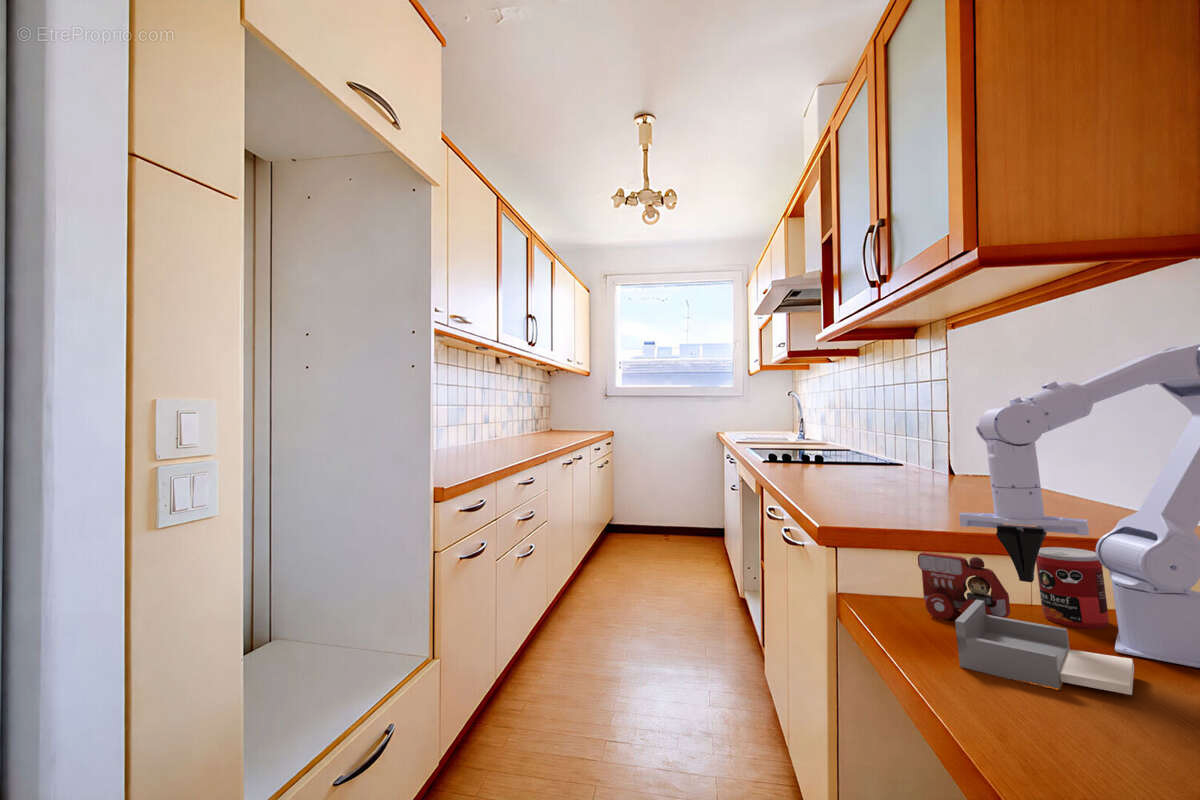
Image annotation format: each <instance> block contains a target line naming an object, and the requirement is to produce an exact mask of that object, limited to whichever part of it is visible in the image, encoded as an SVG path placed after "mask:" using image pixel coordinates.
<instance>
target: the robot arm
mask: <svg viewBox="0 0 1200 800" xmlns="http://www.w3.org/2000/svg"><path fill="white" fill-rule="evenodd" d="M1145 385H1149V386H1152V385H1158V386H1159V387H1161V388H1162V389H1163V390H1165V391H1166V392H1167V393H1168V394H1170V395H1171V396H1172V397H1173V398H1175V400H1176V401H1178V402H1180V404H1182V405H1183V406H1184V407H1186V408H1187V409H1188V410H1189V411H1190V413H1191V415H1192V417H1191V419H1190V421H1188V423H1187V426H1186V427H1185V429H1184V430H1183V432H1182V434H1181V436H1180V437H1179V439H1178V440H1177V441H1178V442H1177V443H1176V444H1175V447H1174V448H1173V450H1172V451H1171V453H1170V454H1169V456H1168V459H1167V460H1166V462H1165V464H1164V465H1163V467H1162V469H1161V470H1160V472H1159V474H1158V476H1157V478H1156V479H1155V481H1154V483H1153V485H1152V487H1151V488H1150V490H1149V492H1148V493H1147V495H1146V497H1145V499H1144V500H1143V502H1142V504H1141V506H1140V508H1139V509H1138V510H1137V511H1136V512H1135V513H1132V514H1130V515H1128V516H1125V517H1124V518H1121V519H1120V520H1119V521H1117V523H1116V525H1115V526H1114V528H1113V529H1112V530H1111V531H1109V532H1108V533H1106V534H1104V535H1102V536H1101V537H1100V538H1099V539H1098V540H1097V543H1096V546H1095V552H1096V555H1097V558H1098V560H1099V562H1100V563H1101V564H1102V567H1104V568H1105V569H1107V570H1108V571H1109V577H1110V580H1111V585H1112V591H1113V592H1112V593H1113V600H1114V606H1115V607H1114V608H1115V614H1116V620H1117V628H1118V630H1117V631H1118V632H1117V634H1116V638H1115V644H1114V651H1115V652H1117V653H1119V654H1124V655H1131V656H1135V657H1140V658H1146V659H1151V660H1156V661H1162V662H1166V663H1172V664H1176V665H1177V664H1178V665H1183V666H1187V667H1193V668H1199V669H1200V591H1195V590H1192V589H1191V588H1193V587H1194V586H1195V585H1196V584H1197V583H1198V582H1199V580H1200V537H1199V535H1198V534H1197V533H1196V531H1195V529H1196V528H1197V526H1198V525H1199V523H1200V342H1198V343H1192V344H1189V345H1183V346H1179V347H1178V346H1173V347H1168V348H1164V349H1162V350H1160V351H1158V352H1154V353H1149V354H1146V355H1142V356H1140V357H1139V356H1138V357H1136V358H1134V359H1132V360H1129V361H1128V362H1125V363H1123V364H1121V365H1118V366H1117V367H1114V368H1112V369H1110V370H1107V371H1105V372H1103V373H1101V374H1099V375H1097V376H1095V377H1092V378H1090V379H1087V380H1086V381H1083V382H1081V383H1078V384H1077V383H1073V382H1069V381H1060V382H1057V381H1055V380H1054V381H1050V382H1047V383H1044V384H1043V385H1041V388H1042V389H1041V390H1038V391H1036V392H1034V393H1032V394H1029V395H1027V396H1025V397H1022V398H1021V397H1020V396H1017V397H1013V398H1011V399H1009V403H1010V404H1009V405H1008V406H1000V407H993V408H990V409H988V410H987V411H985V412H984V413H983V414H982V416H980V418H979V421H978V425H976V427H975V430H976V433H977V434H978V436H979V438H981V439H982V441H984V442H985V444H986V450H987V452H986V453H987V460H988V461H987V462H988V469H989V477H990V478H989V481H990V486H991V493H992V494H991V495H992V502H993V512H994V513H991V512H988V513H987V512H983V513H982V512H960V513H959V514H958V517H959V518H958V519H959V526H960V527H967V528H969V527H975V528H976V527H977V528H988V529H989V528H991V529H996V533H995V535H996V537H997V539H998V541H999V542H1000V544H1002V546H1003V548H1004V549H1005V550H1006V552H1007V554H1008V556H1009V557H1010V559H1011V561H1012V563H1013V566H1014V569H1015V571H1016V573H1017V576H1018V580H1019V581H1020V582H1026V583H1033V582H1034V580H1035V569H1036V568H1035V567H1036V559H1037V556H1038V553H1039V550H1040V548H1042V544H1043V542H1044V540H1045V538H1046V536H1047V533H1061V534H1062V533H1063V534H1073V535H1074V534H1075V535H1078V536H1089V535H1090V529H1089V521H1088V519H1085V518H1073V517H1072V518H1071V517H1061V516H1053V515H1052V516H1049V515H1045V510H1044V509H1045V508H1044V503H1043V502H1044V501H1043V496H1042V495H1043V493H1042V487H1041V480H1040V479H1041V478H1040V473H1039V472H1040V471H1039V469H1040V468H1039V461H1038V455H1037V447H1036V442H1037V441H1038V440H1039V439H1040V438H1041V437H1042V435H1043V434H1045V433H1047V432H1051V431H1052V430H1053V431H1054V430H1055V429H1058V428H1061V427H1063V426H1065V425H1068V424H1071V423H1073V422H1075V421H1077V420H1080V419H1082V418H1085V417H1087V416H1089V415H1090V414H1091V412H1092V409H1093V406H1094V404H1095V403H1098V402H1101V401H1104V400H1107V399H1109V398H1112V397H1115V396H1118V395H1120V394H1123V393H1126V392H1128V391H1129V392H1130V391H1132V390H1134V389H1138V388H1139V387H1140V388H1141V387H1143V386H1145Z"/></svg>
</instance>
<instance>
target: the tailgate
mask: <svg viewBox="0 0 1200 800" xmlns="http://www.w3.org/2000/svg"><path fill="white" fill-rule="evenodd" d="M1134 674H1135V665H1134V659H1133V658H1129V657H1124V656H1123V657H1122V656H1121V657H1120V656H1117V655H1108V654H1103V653H1102V654H1101V653H1096V652H1089V651H1084V650H1076V649H1075V650H1074V649H1068V651H1067V654H1066V657H1065V659H1064V662H1063V665H1062V667H1061V670H1060V678H1061V682H1063V683H1067V684H1071V685H1075V686H1081V687H1082V686H1083V687H1088V688H1093V689H1097V690H1104V691H1109V692H1114V693H1119V694H1125V695H1130V696H1132V695H1133V688H1134V687H1133V686H1134Z"/></svg>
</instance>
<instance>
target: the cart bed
mask: <svg viewBox="0 0 1200 800" xmlns="http://www.w3.org/2000/svg"><path fill="white" fill-rule="evenodd" d="M954 625H955V633H956V641H957V642H956V643H957V650H958V660H959V667H960V668H963V669H967V670H971V671H975V672H980V673H983V674H988V675H991V676H995V677H999V678H1004V679H1008V680H1011V679H1013V681H1015V680H1020V681H1026V682H1032V683H1036V684H1039V685H1045V686H1050V687H1054V688H1058V689H1059V688H1060V686H1061V683H1062V682H1061V678H1060V670H1061V667H1062V665H1063V662H1064V659H1065V657H1066V654H1067V651H1068V649H1070V642H1069V634H1068V628H1065V627H1064V628H1063V627H1059V626H1053V625H1047V624H1043V623H1036V622H1030V621H1024V620H1018V619H1013V618H1008V617H1006V618H1003V617H997V616H991V615H986V612H985V603H984V601H982V600H975V601H974V602H973V603H972V604H971V605H970V606H969V607H968V608H967V609H966V610H965V611H964V612H963V613H962V614H961V613H960V616H958V617H957V618H956V619H955V620H954ZM1070 650H1071V649H1070ZM1062 684H1063V683H1062ZM1061 687H1062V686H1061Z"/></svg>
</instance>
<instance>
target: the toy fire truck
mask: <svg viewBox="0 0 1200 800" xmlns="http://www.w3.org/2000/svg"><path fill="white" fill-rule="evenodd" d="M917 566H918V568H919V569H920V570H921V577H922V579H921V581H922V590H923V592H922V593H923V600H924V602H925V608H926V610H927V612H928V613H929V615H931V616H932V617H934V618H935V619H938V620H942V619H945V620H948V619H950V618H952V617H953V616H954V614H955V613H956V612H958V611H960V615H961V614H962V613H963V612H964V611H965V610H966V609H967V608H968V607H969V606H970V605H971V604H972V603H973V602H974V601H975V600H982V601H984V603H985V612H986V615H991V616H997V617H1003V618H1008V617H1010V614H1011V606H1010V596H1009V593H1008V592H1007V590H1006V589H1005V587H1004V586H1003V583H1002V582H1001V581H1000V579H999V578H998V576H997V575H996V573H995V572H994V571H993V569H990V568H987V567H986V568H985V562H984V560H983V559H982V558H980V557H979V556H974V557H973V556H972V557H971V558H970V559H969V561H968V560H967V559H966V558H965V557H963V556H958V555H957V556H956V555H949V554H941V553H940V554H939V553H933V552H926V551H925V552H920V553H919V554H918V556H917ZM967 579H968V580H967ZM968 589H969V591H970V592H967V591H968ZM989 592H990V594H989ZM965 593H966V596H965ZM955 611H956V612H955Z"/></svg>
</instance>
